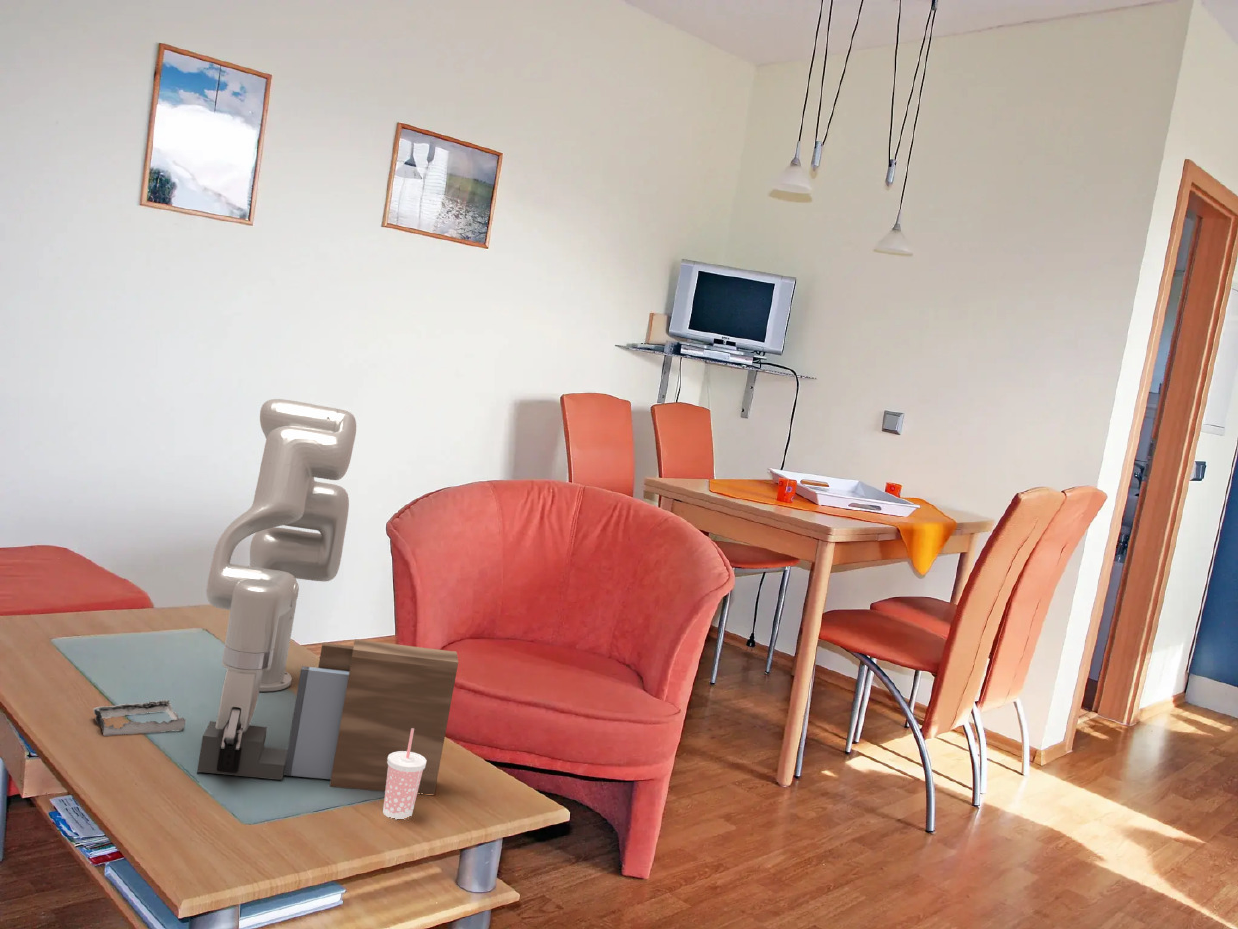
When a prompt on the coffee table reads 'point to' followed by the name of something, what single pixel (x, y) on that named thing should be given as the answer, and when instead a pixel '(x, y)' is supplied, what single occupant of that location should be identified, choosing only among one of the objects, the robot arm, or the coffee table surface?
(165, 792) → the coffee table surface
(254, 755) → the grey stepped block
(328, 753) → the sliding door
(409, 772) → the beverage cup
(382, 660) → the door wall
